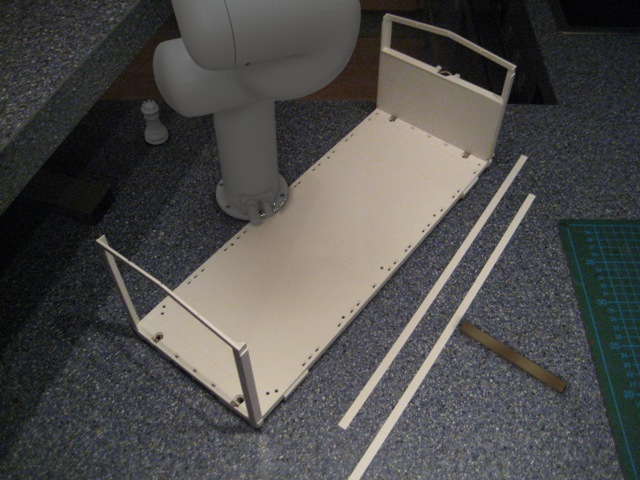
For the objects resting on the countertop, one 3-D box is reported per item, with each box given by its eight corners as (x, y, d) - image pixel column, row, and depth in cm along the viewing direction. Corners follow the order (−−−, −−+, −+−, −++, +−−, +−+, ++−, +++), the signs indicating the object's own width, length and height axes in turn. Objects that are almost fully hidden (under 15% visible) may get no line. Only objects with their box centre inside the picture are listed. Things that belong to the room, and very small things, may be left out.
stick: (565, 385, 86) (567, 383, 85) (560, 393, 85) (561, 391, 84) (464, 322, 92) (465, 320, 92) (458, 330, 91) (459, 327, 91)
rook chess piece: (166, 146, 117) (158, 112, 111) (143, 145, 117) (133, 111, 111) (171, 131, 120) (163, 96, 114) (148, 130, 120) (139, 96, 114)
